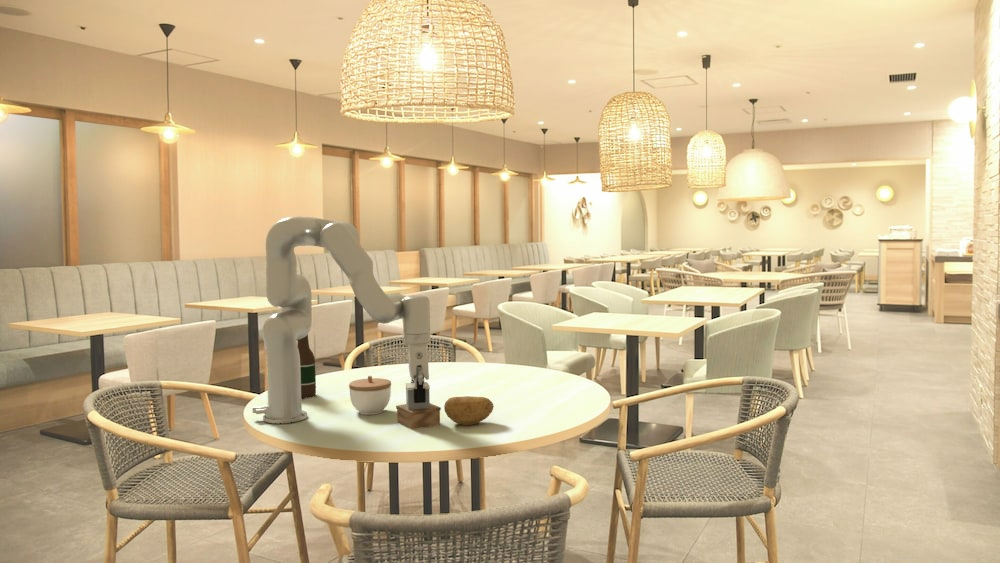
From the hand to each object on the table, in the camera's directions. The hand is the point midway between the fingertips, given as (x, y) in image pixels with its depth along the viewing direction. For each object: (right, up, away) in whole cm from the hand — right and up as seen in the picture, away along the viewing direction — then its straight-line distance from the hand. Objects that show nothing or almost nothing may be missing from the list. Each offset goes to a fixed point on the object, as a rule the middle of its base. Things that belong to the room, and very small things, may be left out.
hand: (418, 398), depth 210 cm
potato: (+15, -7, -1) cm, 16 cm away
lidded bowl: (-16, -7, +15) cm, 23 cm away
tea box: (0, -8, 0) cm, 7 cm away
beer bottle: (-42, -5, +37) cm, 56 cm away
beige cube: (0, -2, 0) cm, 2 cm away
